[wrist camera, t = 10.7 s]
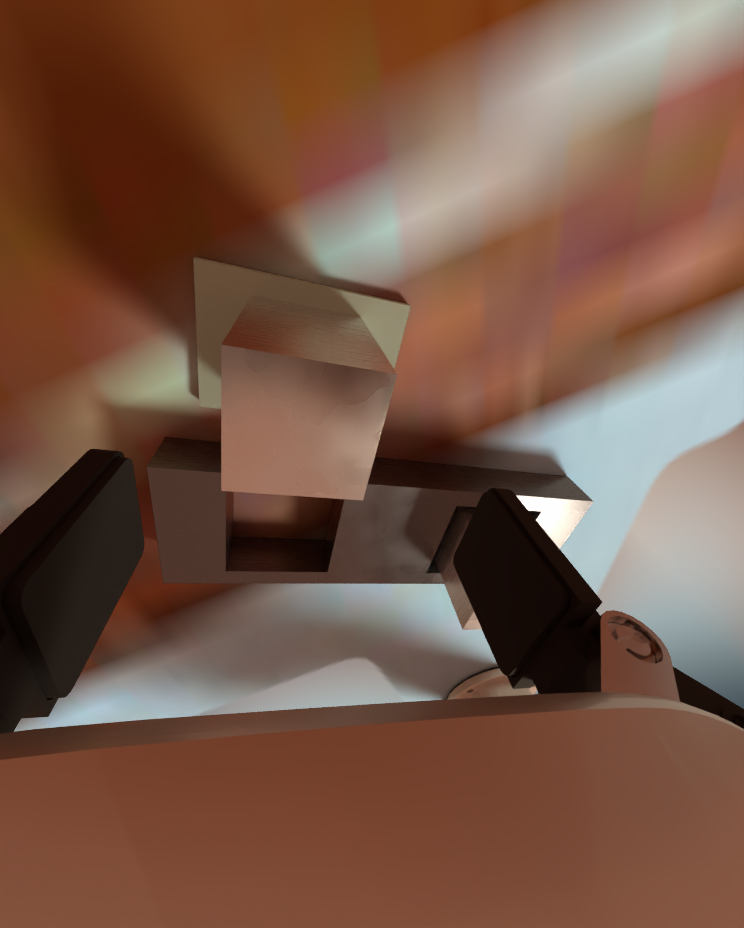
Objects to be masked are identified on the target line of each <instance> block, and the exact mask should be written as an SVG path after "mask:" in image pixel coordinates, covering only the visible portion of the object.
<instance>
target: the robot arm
mask: <svg viewBox="0 0 744 928" xmlns="http://www.w3.org/2000/svg"><path fill="white" fill-rule="evenodd" d="M143 550H144V536H143V529H142V522H141V516H140V509H139V502H138V495H137V488H136V482H135V475H134V468H133V463H132V460H131V459H129V458H125V457H124V455H123V453H122V452H120V451H110V450H100V449H90V450H89V451H87V452H86V453H85V454H84V455H83V456H82V457H81V458H80V459H79V460H78V461H77V462H76V463H75V464H74V465H73V466H72V467H71V468H70V469H69V470H68V471H67V472H66V473H65V474H64V475H63V476H62V477H61V478H60V479H59V480H58V481H57V482H56V483H55V484H53V485H52V486H51V487H50V488H49V489H48V490H47V491H46V492H45V493H44V494H43V495H42V496H41V497H40V498H39V499H38V500H37V501H36V502H35V503H34V504H33V505H31V506H30V507H28V508H27V509H26V510H25V511H24V512H23V513H22V514H21V515H20V516H19V517H18V518H17V519H16V520H15V521H14V522H12V523H11V524H10V525H9V526H8V527H7V528H6V529H5V530H4V531H3V532H2V533H1V534H0V928H744V709H743V708H741V707H739V706H738V705H736V704H734V703H733V702H731V701H729V700H728V699H726V698H724V697H723V696H721V695H719V694H718V693H716V692H714V691H713V690H711V689H709V688H708V687H706V686H704V685H703V684H701V683H699V682H698V681H696V680H694V679H693V678H691V677H689V676H687V675H686V674H684V673H683V672H681V671H679V670H678V669H676V668H674V667H673V666H672V661H671V657H670V655H669V652H668V650H667V648H666V647H665V645H664V644H663V642H662V641H661V639H660V638H659V637H658V636H657V635H656V634H655V633H654V632H653V631H652V630H651V629H649V628H648V627H647V626H646V625H645V624H643V623H642V622H640V621H638V620H637V619H635V618H634V617H632V616H630V615H627V614H625V613H623V612H619V611H614V610H613V611H606V612H605V613H603V614H602V615H601V616H600V615H599V614H598V612H597V611H596V609H597V608H598V607H599V606H600V604H601V603H602V601H601V600H600V599H599V597H598V596H597V595H596V594H595V592H594V591H593V590H592V589H591V587H590V586H589V585H588V584H587V583H586V581H585V580H584V579H583V578H582V576H581V575H580V574H579V573H578V571H577V570H576V569H575V568H574V566H573V565H572V564H571V563H570V562H569V560H568V559H567V558H566V557H565V555H564V554H563V553H562V552H561V550H560V549H559V548H558V547H557V545H556V544H555V543H554V542H553V540H552V539H551V538H550V537H549V536H548V534H547V533H546V532H545V531H544V529H543V528H542V527H541V526H540V524H539V523H538V522H537V521H536V519H535V518H534V517H533V516H532V515H531V513H530V512H529V511H528V510H527V508H526V507H525V506H524V505H523V503H522V502H521V501H520V500H519V498H518V497H517V496H516V495H515V493H514V492H513V491H512V490H509V489H501V488H490V489H489V490H488V491H487V492H484V493H483V494H482V496H481V498H480V500H479V502H478V504H477V507H476V509H475V511H474V513H473V515H472V517H471V520H470V522H469V524H468V526H467V528H466V530H465V533H464V535H463V537H462V539H461V541H460V543H459V546H458V548H457V550H456V552H455V554H454V558H453V564H454V568H455V570H456V572H457V574H458V577H459V579H460V581H461V583H462V586H463V588H464V590H465V592H466V595H467V597H468V599H469V601H470V604H471V606H472V608H473V610H474V613H475V615H476V617H477V619H478V622H479V624H480V626H481V628H482V630H483V633H484V635H485V637H486V639H487V642H488V644H489V646H490V648H491V651H492V653H493V655H494V657H495V660H496V662H497V664H498V666H499V668H497V669H493V670H489V671H486V672H483V673H480V674H478V675H476V676H473V677H471V678H470V679H468V680H466V681H464V682H463V683H461V684H460V685H458V686H457V687H456V688H455V689H454V690H453V691H452V692H451V693H450V695H449V697H448V699H447V700H432V701H416V702H401V703H385V704H369V705H355V706H339V707H323V708H308V709H294V710H278V711H264V712H250V713H236V714H221V715H207V716H192V717H178V718H164V719H149V720H137V721H125V722H114V723H102V724H91V725H79V726H67V727H56V728H44V729H33V730H25V731H17V732H13V731H14V730H15V728H16V726H17V725H18V723H19V721H20V720H21V718H34V717H48V716H49V714H50V713H51V711H52V709H53V707H54V705H55V703H56V702H57V700H58V698H63V697H66V696H67V695H68V694H69V693H70V692H71V690H72V689H73V687H74V685H75V683H76V681H77V679H78V677H79V675H80V673H81V672H82V670H83V668H84V666H85V664H86V662H87V660H88V658H89V656H90V654H91V652H92V650H93V648H94V647H95V645H96V643H97V641H98V639H99V637H100V635H101V633H102V631H103V629H104V627H105V625H106V623H107V622H108V620H109V618H110V616H111V614H112V612H113V610H114V608H115V606H116V604H117V602H118V600H119V598H120V597H121V595H122V593H123V591H124V589H125V587H126V585H127V583H128V581H129V579H130V577H131V575H132V573H133V572H134V570H135V568H136V566H137V564H138V562H139V560H140V558H141V556H142V553H143ZM536 691H538V694H535V692H536ZM534 694H535V695H534Z"/></svg>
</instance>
